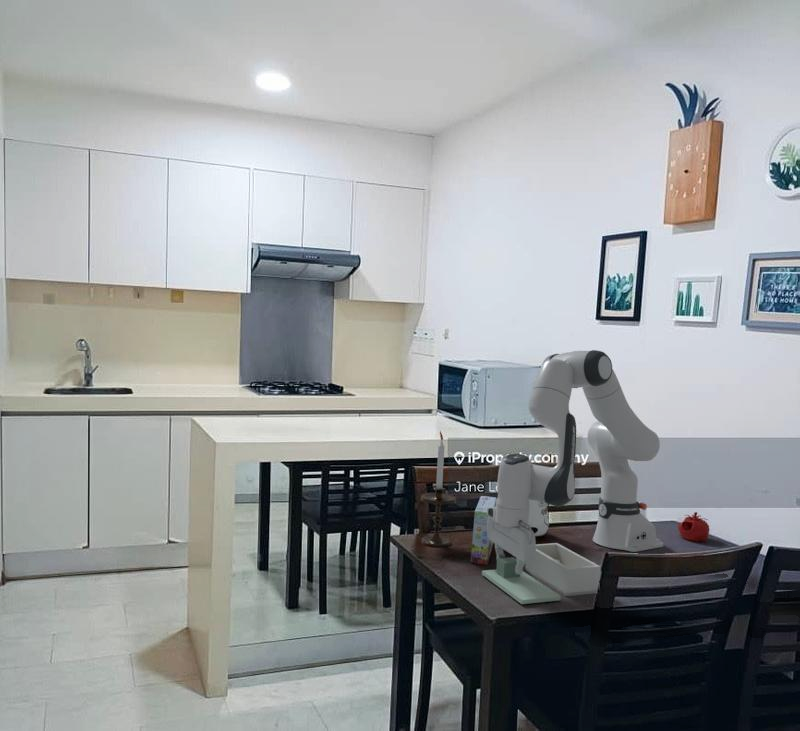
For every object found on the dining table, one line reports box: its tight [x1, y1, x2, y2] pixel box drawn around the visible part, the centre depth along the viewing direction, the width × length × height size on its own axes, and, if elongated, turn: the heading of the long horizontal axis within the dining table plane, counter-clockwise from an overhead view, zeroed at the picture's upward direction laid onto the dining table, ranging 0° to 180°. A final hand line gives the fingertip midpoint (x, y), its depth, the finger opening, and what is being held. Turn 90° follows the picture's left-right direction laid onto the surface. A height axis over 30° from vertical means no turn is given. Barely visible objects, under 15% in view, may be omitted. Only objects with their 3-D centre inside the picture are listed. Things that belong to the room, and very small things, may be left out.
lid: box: [481, 556, 561, 605], centre depth 181 cm, size 11×21×6 cm, turn 20°
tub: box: [524, 542, 601, 597], centre depth 188 cm, size 10×20×7 cm, turn 20°
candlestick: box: [420, 430, 457, 548], centre depth 215 cm, size 11×11×35 cm
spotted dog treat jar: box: [528, 499, 550, 539], centre depth 230 cm, size 17×17×18 cm
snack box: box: [470, 495, 498, 566], centre depth 208 cm, size 21×6×15 cm, turn 168°
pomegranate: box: [677, 511, 710, 543], centre depth 235 cm, size 10×10×9 cm
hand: (509, 567), depth 186 cm, fingers open, 8 cm apart
